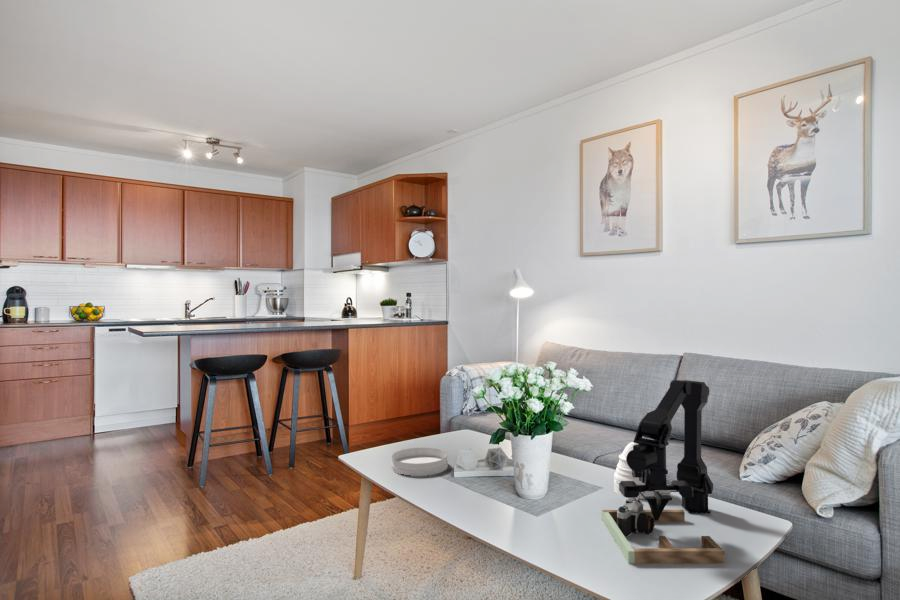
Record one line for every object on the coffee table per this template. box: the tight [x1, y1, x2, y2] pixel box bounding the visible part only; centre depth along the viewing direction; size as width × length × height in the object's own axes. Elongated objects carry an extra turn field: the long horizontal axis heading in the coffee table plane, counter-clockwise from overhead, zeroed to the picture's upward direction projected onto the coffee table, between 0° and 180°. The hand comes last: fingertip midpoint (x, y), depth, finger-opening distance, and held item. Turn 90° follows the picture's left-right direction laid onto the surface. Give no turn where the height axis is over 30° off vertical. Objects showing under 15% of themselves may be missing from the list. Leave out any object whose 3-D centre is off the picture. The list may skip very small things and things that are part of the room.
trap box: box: [601, 509, 726, 564], centre depth 147 cm, size 24×26×3 cm
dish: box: [391, 447, 449, 477], centre depth 213 cm, size 22×22×5 cm
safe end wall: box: [601, 509, 636, 564], centre depth 147 cm, size 2×26×3 cm, turn 178°
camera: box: [616, 498, 655, 539], centre depth 152 cm, size 13×8×9 cm, turn 141°
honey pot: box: [613, 441, 645, 500], centre depth 183 cm, size 13×13×18 cm
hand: (656, 519), depth 150 cm, fingers closed
